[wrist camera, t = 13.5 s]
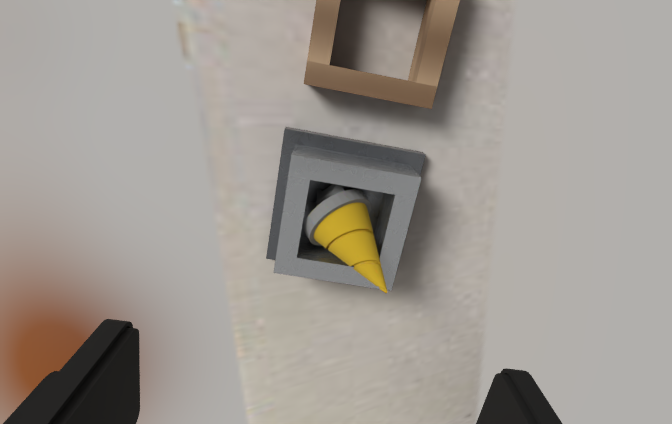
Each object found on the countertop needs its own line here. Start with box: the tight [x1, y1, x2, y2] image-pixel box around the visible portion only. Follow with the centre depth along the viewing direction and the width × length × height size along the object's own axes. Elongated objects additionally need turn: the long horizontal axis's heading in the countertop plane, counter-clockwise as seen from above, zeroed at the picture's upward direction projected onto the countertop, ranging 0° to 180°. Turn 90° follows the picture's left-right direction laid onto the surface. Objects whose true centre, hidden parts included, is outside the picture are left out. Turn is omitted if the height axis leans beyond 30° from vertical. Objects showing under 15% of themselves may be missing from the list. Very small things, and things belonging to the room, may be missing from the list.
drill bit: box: [303, 184, 387, 293], centre depth 29 cm, size 5×5×10 cm
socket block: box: [304, 0, 460, 109], centre depth 27 cm, size 9×9×3 cm
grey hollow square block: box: [266, 127, 425, 291], centre depth 30 cm, size 11×11×5 cm
